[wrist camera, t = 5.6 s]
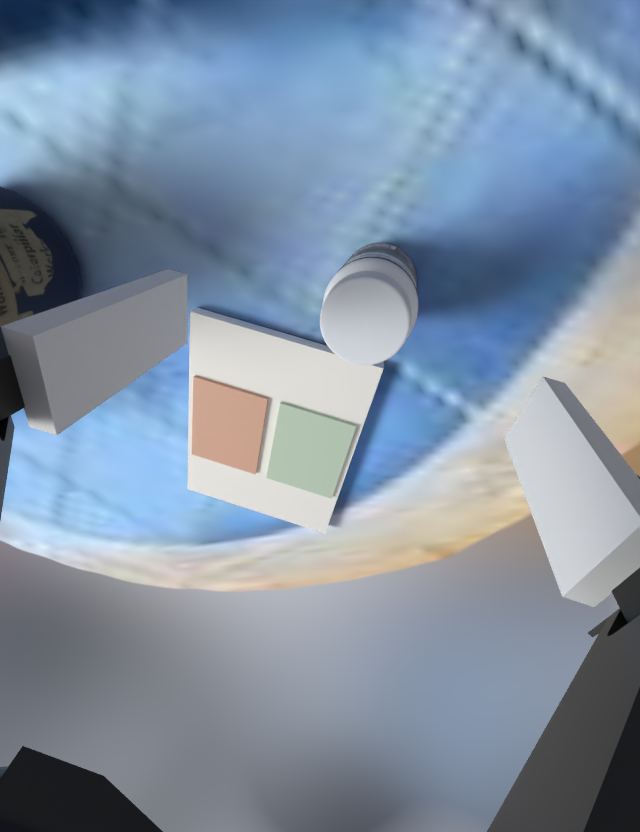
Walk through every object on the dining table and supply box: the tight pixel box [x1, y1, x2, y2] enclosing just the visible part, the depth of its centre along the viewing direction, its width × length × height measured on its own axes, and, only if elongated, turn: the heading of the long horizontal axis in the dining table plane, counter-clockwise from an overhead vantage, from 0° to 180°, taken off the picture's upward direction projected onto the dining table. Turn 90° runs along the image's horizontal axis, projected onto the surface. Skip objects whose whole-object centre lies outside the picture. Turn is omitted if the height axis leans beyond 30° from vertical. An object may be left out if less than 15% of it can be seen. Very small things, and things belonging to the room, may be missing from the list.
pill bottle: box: [320, 243, 418, 365], centre depth 20 cm, size 5×5×8 cm
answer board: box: [188, 308, 384, 533], centre depth 31 cm, size 18×14×1 cm
